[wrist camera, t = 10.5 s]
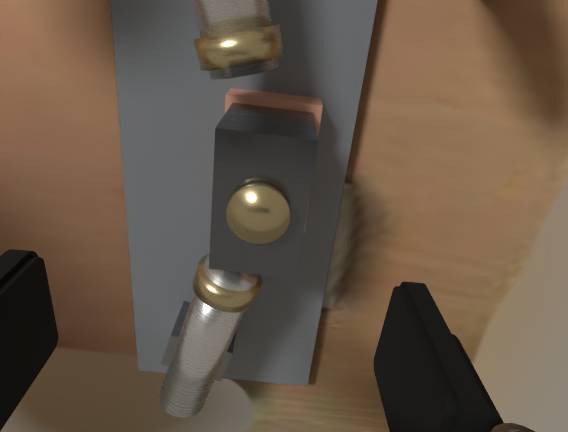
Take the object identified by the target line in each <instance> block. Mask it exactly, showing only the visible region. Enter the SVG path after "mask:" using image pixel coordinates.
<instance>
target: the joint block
mask: <svg viewBox="0 0 568 432" xmlns="http://www.w3.org/2000/svg"><path fill="white" fill-rule="evenodd" d="M318 141H319V140H318V135H317V130H316V125H315V120H314V115H313V113H312V112H304V111H296V110H288V109H281V108H273V107H265V106H257V105H249V104H241V103H232V104H231V106H230V107H229V109H228V110H227V111H226V113H225V114H224V116H223V117H222V119H221V120H220V122H219V123H218V125H217V126H216V128H215V145H214V166H213V188H212V209H211V230H210V252H209V269H215V270H224V271H233V272H241V273H250V274H259V275H268V276H277V277H286V278H295V279H296V276H297V270H298V264H299V258H300V252H301V246H302V240H303V233H304V227H305V221H306V215H307V209H308V203H309V197H310V190H311V184H312V178H313V172H314V166H315V160H316V154H317V147H318Z"/></svg>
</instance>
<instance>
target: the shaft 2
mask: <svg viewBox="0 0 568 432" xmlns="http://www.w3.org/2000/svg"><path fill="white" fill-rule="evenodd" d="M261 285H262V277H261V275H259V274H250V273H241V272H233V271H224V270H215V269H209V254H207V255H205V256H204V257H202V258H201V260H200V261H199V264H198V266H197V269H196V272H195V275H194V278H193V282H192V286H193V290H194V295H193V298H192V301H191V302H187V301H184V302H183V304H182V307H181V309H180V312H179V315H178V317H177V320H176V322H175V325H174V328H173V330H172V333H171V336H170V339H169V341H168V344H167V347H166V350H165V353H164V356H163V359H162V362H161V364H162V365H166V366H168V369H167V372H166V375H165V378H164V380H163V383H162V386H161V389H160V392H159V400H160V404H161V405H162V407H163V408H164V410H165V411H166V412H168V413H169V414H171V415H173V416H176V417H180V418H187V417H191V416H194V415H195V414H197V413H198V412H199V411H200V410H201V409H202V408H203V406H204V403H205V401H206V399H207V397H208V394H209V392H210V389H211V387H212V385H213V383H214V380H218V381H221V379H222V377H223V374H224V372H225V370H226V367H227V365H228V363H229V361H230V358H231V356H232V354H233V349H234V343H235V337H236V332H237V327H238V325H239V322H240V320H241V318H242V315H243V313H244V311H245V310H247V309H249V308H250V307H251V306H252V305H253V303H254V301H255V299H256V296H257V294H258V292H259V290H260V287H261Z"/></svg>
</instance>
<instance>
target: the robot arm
mask: <svg viewBox="0 0 568 432" xmlns="http://www.w3.org/2000/svg"><path fill="white" fill-rule="evenodd" d="M57 342H58V332H57V327H56V321H55V316H54V311H53V306H52V300H51V295H50V290H49V285H48V279H47V274H46V269H45V264H44V260H43V259H42V258H41V257H38V255H37V254H36V252H34V251H25V250H13V249H11V250H8V251H6V252H5V253H4V254H3V255H1V256H0V431H1V429H2V428H3V426H4V425H5V423H6V422H7V420H8V418H9V417H10V416H11V414H12V413H13V411H14V410H15V408H16V407H17V405H18V404H19V402H20V401H21V399H22V398H23V396H24V395H25V393H26V392H27V390H28V389H29V387H30V386H31V384H32V383H33V381H34V380H35V378H36V377H37V375H38V374H39V372H40V371H41V369H42V368H43V366H44V365H45V363H46V362H47V360H48V359H49V357H50V356H51V354H52V352H53V351H54V349H55V348H56V345H57ZM374 372H375V376H376V380H377V384H378V388H379V392H380V395H381V399H382V403H383V407H384V411H385V415H386V419H387V423H388V426H389V430H390V432H535V431H533V430H531V429H529V428H527V427H524V426H521V425H517V424H513V423H503V421H502V419H501V417H500V415H499V413H498V411H497V410H496V408H495V406H494V404H493V402H492V400H491V399H490V397H489V395H488V393H487V391H486V389H485V387H484V385H483V384H482V382H481V380H480V378H479V376H478V374H477V372H476V371H475V369H474V367H473V365H472V363H471V361H470V359H469V358H468V356H467V354H466V352H465V350H464V348H463V346H462V345H461V343H460V341H459V340H458V338H457V337H456V336H455V335H453V334H451V332H450V330H449V328H448V326H447V325H446V323H445V321H444V319H443V317H442V315H441V313H440V311H439V309H438V307H437V306H436V304H435V302H434V300H433V298H432V296H431V294H430V292H429V290H428V288H427V287H426V285H425V284H423V283H414V282H402V283H401V285H400V287H398V286H396V287H394V289H393V292H392V296H391V299H390V303H389V306H388V310H387V314H386V317H385V321H384V325H383V328H382V332H381V335H380V339H379V343H378V346H377V350H376V353H375V357H374Z"/></svg>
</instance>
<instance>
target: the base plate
mask: <svg viewBox="0 0 568 432" xmlns="http://www.w3.org/2000/svg"><path fill="white" fill-rule="evenodd" d="M268 1H269V7H270V14H271V20H272V25H276V24H280V30H281V37H282V44H283V51H284V56H282V57H280V58H277V59H278V65H279V67H277V68H275V69H272V70H269V71H266V72H262V73H257V74H253V75H248V76H242V77H236V78H229V79H217V80H214V79H210V77H209V72H208V71H201V69H200V65H199V61H198V57H197V52H196V48H195V44H194V40H193V39H197V38H201V37H200V33H199V28H198V24H197V20H196V15H195V11H194V7H193V2H192V0H110V3H111V17H112V30H113V43H114V56H115V70H116V83H117V96H118V109H119V122H120V136H121V149H122V162H123V175H124V188H125V202H126V215H127V228H128V241H129V255H130V268H131V281H132V294H133V307H134V321H135V334H136V347H137V360H138V370H139V371H151V372H161V373H166V372H167V369H168V366H166V365H162V364H161V362H162V359H163V356H164V353H165V350H166V347H167V344H168V341H169V339H170V336H171V333H172V330H173V328H174V325H175V322H176V320H177V317H178V315H179V312H180V309H181V307H182V304H183V302H184V301H187V302H191V301H192V298H193V295H194V290H193V286H192V282H193V278H194V275H195V272H196V269H197V266H198V264H199V261H200V260H201V258H202V257H204V256H205V255H207V254H209V252H210V230H211V209H212V188H213V166H214V145H215V128H216V126H217V125H218V123H219V122H220V120H221V119H222V117H223V116H224V114H225V113H226V111H227V110H228V109H229V107H230V106H231V104H232V103H241V104H249V105H257V106H265V107H273V108H281V109H288V110H296V111H304V112H312V113H313V115H314V120H315V125H316V130H317V135H318V140H319V141H318V147H317V154H316V160H315V166H314V172H313V178H312V184H311V190H310V197H309V203H308V209H307V215H306V221H305V227H304V233H303V240H302V246H301V252H300V258H299V264H298V270H297V276H296V279H295V278H286V277H277V276H268V275H261V277H262V285H261V287H260V290H259V292H258V294H257V296H256V299H255V301H254V303H253V305H252V306H251V307H250V308H249V309H247V310H245V311H244V313H243V315H242V318H241V320H240V322H239V325H238V327H237V332H236V337H235V343H234V349H233V354H232V356H231V358H230V361H229V363H228V365H227V367H226V370H225V372H224V374H223V377H222V378H226V379H237V380H248V381H259V382H270V383H281V384H292V385H303V386H307V385H308V380H309V374H310V369H311V363H312V358H313V352H314V347H315V341H316V336H317V330H318V325H319V319H320V314H321V309H322V303H323V298H324V292H325V287H326V281H327V276H328V270H329V265H330V259H331V254H332V248H333V243H334V237H335V232H336V226H337V221H338V215H339V210H340V204H341V199H342V194H343V188H344V183H345V177H346V172H347V166H348V161H349V155H350V150H351V144H352V139H353V133H354V128H355V122H356V117H357V111H358V106H359V100H360V95H361V90H362V84H363V79H364V73H365V68H366V62H367V57H368V51H369V46H370V40H371V35H372V29H373V24H374V18H375V13H376V7H377V2H378V0H268Z"/></svg>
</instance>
